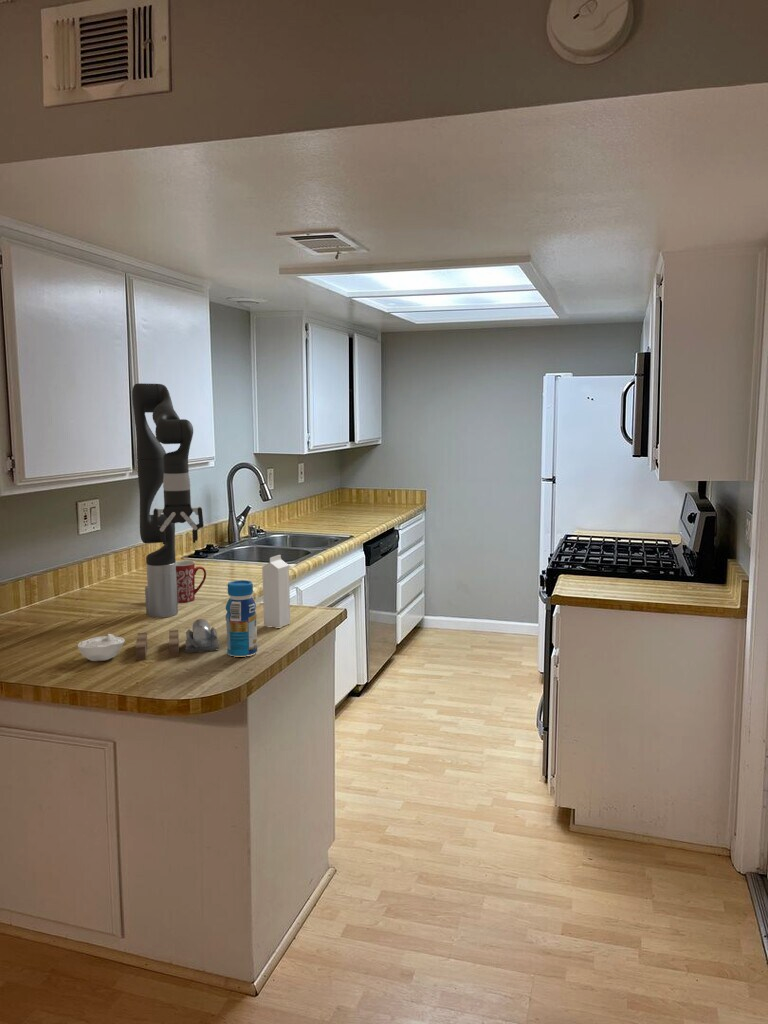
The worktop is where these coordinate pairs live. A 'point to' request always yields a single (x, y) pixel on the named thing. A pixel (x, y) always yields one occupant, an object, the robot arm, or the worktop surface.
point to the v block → (194, 648)
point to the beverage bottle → (241, 619)
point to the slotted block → (142, 645)
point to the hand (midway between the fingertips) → (179, 543)
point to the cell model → (101, 647)
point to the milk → (276, 592)
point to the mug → (187, 580)
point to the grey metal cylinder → (201, 633)
